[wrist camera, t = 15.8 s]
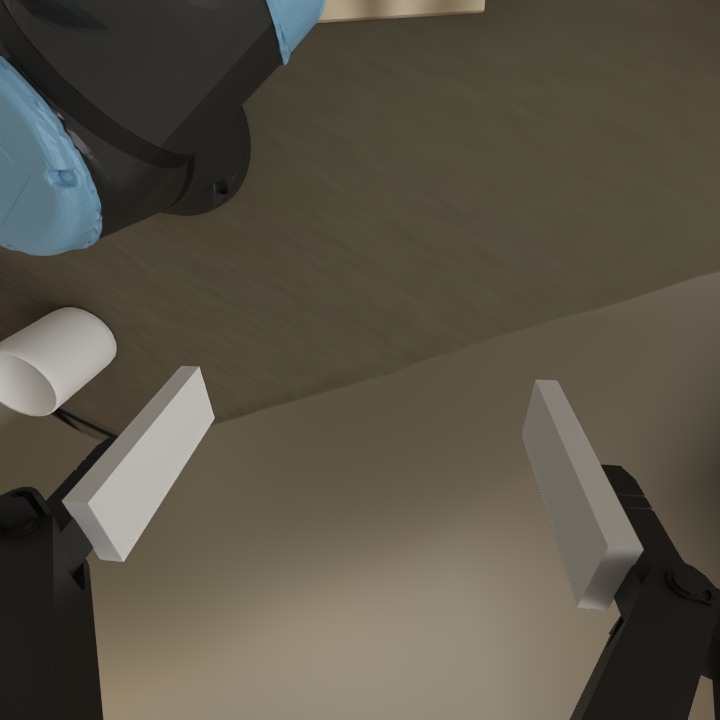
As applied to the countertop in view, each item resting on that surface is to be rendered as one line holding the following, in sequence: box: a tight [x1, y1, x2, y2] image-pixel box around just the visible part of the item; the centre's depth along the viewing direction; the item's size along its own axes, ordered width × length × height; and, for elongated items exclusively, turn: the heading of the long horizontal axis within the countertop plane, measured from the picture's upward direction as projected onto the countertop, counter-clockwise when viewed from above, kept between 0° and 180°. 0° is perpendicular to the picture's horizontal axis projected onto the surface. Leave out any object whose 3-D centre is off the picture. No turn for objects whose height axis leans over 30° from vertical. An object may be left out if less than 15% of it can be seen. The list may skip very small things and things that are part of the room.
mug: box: [0, 307, 117, 416], centre depth 52 cm, size 10×12×12 cm
